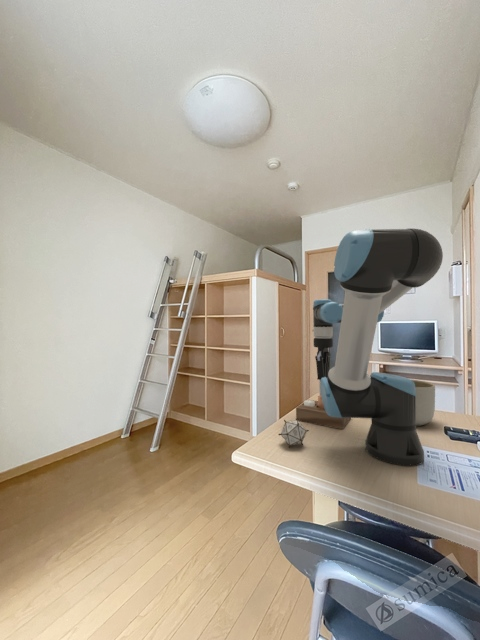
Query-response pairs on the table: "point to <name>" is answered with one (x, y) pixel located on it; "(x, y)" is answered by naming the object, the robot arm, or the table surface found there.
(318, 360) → the robot arm
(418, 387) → the planter
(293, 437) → the game die
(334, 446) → the table surface
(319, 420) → the walnut block
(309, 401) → the far grey plug
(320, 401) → the terracotta plug
